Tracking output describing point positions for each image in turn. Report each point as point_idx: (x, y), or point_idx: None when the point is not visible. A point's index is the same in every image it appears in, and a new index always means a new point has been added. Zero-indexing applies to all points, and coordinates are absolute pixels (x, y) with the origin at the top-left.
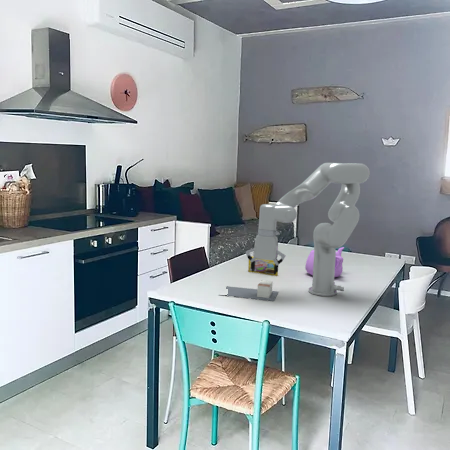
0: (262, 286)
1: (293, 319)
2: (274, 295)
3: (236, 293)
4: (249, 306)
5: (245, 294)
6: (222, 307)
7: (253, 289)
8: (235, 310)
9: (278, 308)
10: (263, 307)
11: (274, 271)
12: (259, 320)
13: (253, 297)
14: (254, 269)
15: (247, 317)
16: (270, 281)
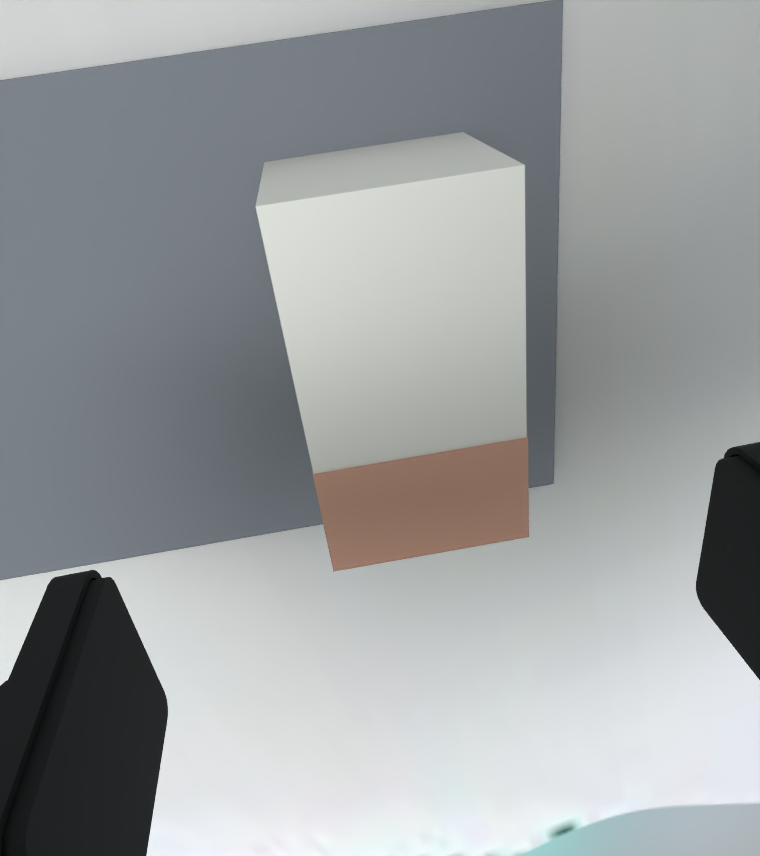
0: (416, 550)
1: (747, 751)
2: (532, 286)
3: (2, 469)
4: (360, 703)
5: (138, 449)
6: (162, 810)
7: (89, 114)
8: (294, 808)
9: (625, 629)
10: (487, 668)
11: (749, 652)
12: (521, 849)
13: (294, 505)
14: (119, 625)
15: (431, 850)
16: (480, 195)
